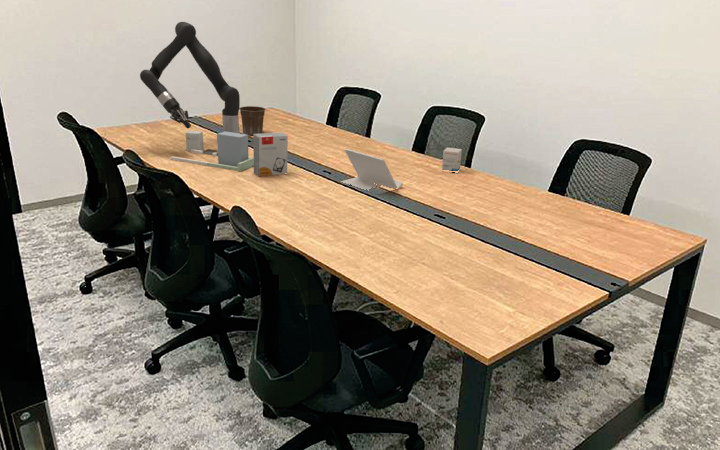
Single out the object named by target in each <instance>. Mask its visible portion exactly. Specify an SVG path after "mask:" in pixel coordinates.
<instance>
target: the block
mask: <svg viewBox="0 0 720 450" xmlns="http://www.w3.org/2000/svg"><path fill="white" fill-rule="evenodd" d="M216 141H217V142H216V143H217V144H216V145H217V150H218V156H217V159H218V160H217V161H218V163H217V164H222V165H228V166H234V167H238V166H237V164H238V163H240V162H243V161H245V160H247V159H249V158H250V157H249V135H246V134H243V133H241V132H240V133H233V132H226V131H225V132H223V131H222V132H218V133H217V134H216Z"/></svg>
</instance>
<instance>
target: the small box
mask: <svg viewBox="0 0 720 450" xmlns="http://www.w3.org/2000/svg"><path fill="white" fill-rule="evenodd" d="M185 143H186V144H185V145H186V152H191V150H192V149H194V150H200V151H203V150H205V149H204V148H205V147H204V146H205V145H204V136H203V131H201V130H200V131H197V130H188V131H186V132H185Z"/></svg>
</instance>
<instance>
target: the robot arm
mask: <svg viewBox="0 0 720 450" xmlns="http://www.w3.org/2000/svg"><path fill="white" fill-rule="evenodd" d="M174 32H175V35H176V36H174V39H173V40H172V41H171V42H170V43H169V44H168V45H166V47H164V48H163V49H162V50H161V51H160V52H159V53H158V54H157V55H156V56H155V58H154V59H153V60H152V62H151V67H150V68H149V69H143V70H141V72H140V73H139V78H140V80H141V81H142V83H143V84H144V85H145V86H146V87H147V89H149V90H150V91H151V93H153V95H154V97H155V98H156V99H157V100H158V102H159V103H160V104H161V106H162V107H163V109H165V111H166V112H167V113H169V114H170V116H169V118H170V119H171V120H172V121H175V122H177V124H183V126H184V127H185V128H186V129H190V128H191V127H192V125H191V123H190V122H189V121H188V120H189V119H190V118H189V116H190V115H189V112H188V110H183V108H182V107H181V106H180V105H181V104H180V103H179V101H178V100H177V99H176V98H175V97H174V96H173V94H172V93H171V92H170V91H169V90H168V88H166V87H165V85H164V84H163V83H162V82H160V81H159V80H160V78H161V76H162V74H163V72H164V71H165V69H166V68H167V67H168V66H169V65H170V63H171V62H172V61H173V60H174V58H175V57H176V56H177V55H178V54H179V53H180V52H181V51H182V50H183V49H184V48H185V47H186V48H187V49H188V51H189V53H190V55H191V56H192V58H193V59H194V60H195V61H194V62H196V64H197V66H198V67H199V68H200V70H201V71H202V72H203V74H204V75H205V77H206V78H207V79H208V80H209V82H210V83H211V84H212V86H213V87H214V89H215V91H216V92H217V95H218V96H219V98H220V99H221V101H223V102H224V108H223V109H222V110H221V115H222V117H221V118H222V132H225V131H226V132H233V133H240V134H241V132H240V131H241V129H240V121H239V111H240V109H239V108H241V106H240V104H241V101H240V99H241V98H240V93H239V90H238V88H236V87H233V86H230V85H229V83H228V82H226V80H225V79H224V77H223V75H222V72H221V70H220V66H219V64H218V62H217V60H216V59H215V58H214V57H213V55H212V54H211V52H209V50H208V49H207V48H206V47H205V46H204V45H203V44H202V43H201V42H200V41H199V39H198V37H197V36H196V35H197V30H196V28H195V26H194V25H193V24H191V23H188V22H186V21H179V22H177V24H175V27H174Z"/></svg>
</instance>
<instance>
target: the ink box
mask: <svg viewBox="0 0 720 450" xmlns="http://www.w3.org/2000/svg"><path fill="white" fill-rule="evenodd" d="M462 153H463V149H461V148H455V147H446V148H445V149H443V153H442V154H443V155H442V163H441V164H442V166H441V171H442V170H449V171H458V170H459V169H460V170H461V162H462Z"/></svg>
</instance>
